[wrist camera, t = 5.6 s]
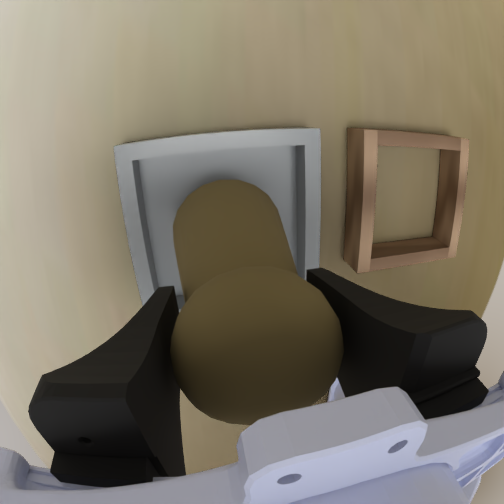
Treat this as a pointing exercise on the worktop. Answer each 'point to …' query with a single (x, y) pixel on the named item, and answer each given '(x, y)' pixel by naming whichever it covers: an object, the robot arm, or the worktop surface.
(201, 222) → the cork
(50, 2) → the worktop surface
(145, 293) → the tray
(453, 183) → the wooden square frame
